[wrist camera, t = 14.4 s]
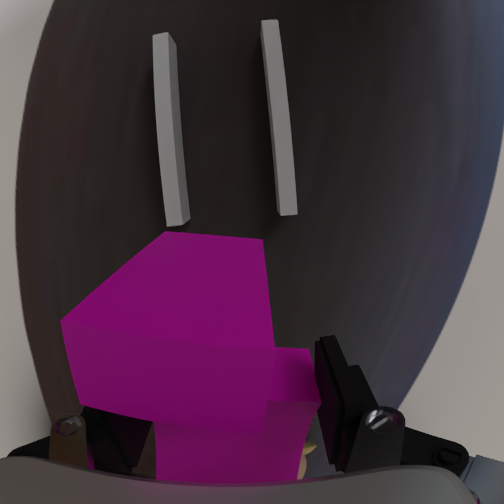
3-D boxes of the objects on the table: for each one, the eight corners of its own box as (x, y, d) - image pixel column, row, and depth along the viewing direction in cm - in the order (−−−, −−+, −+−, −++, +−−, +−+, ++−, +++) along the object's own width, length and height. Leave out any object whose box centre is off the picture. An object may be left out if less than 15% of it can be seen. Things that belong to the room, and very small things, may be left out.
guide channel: (274, 34, 22) (277, 19, 19) (292, 209, 25) (297, 214, 22) (162, 48, 22) (152, 35, 19) (176, 220, 25) (166, 226, 23)
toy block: (276, 477, 16) (282, 577, 9) (177, 469, 16) (156, 567, 9) (327, 245, 12) (413, 352, 5) (165, 231, 12) (60, 321, 5)
